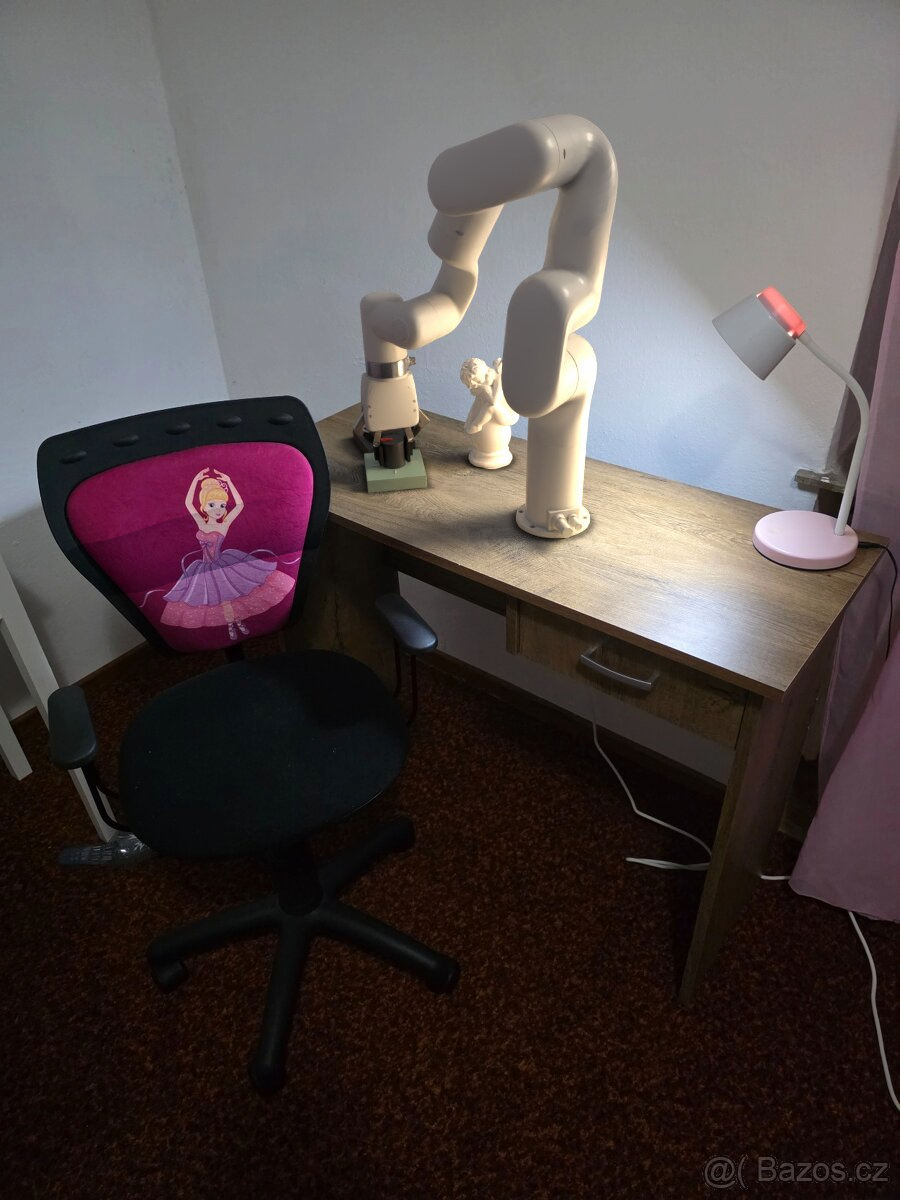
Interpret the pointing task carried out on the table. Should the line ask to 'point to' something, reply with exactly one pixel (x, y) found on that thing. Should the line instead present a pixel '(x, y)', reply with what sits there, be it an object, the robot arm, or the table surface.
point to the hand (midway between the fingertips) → (393, 460)
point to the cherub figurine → (487, 414)
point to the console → (395, 474)
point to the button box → (368, 446)
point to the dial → (393, 451)
